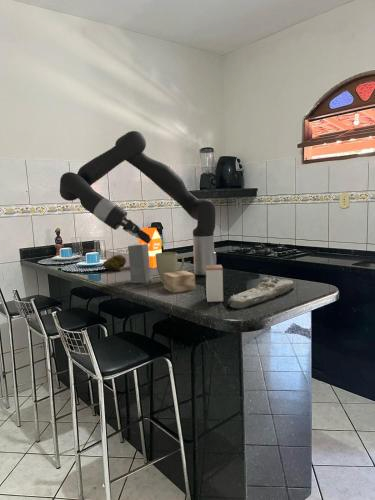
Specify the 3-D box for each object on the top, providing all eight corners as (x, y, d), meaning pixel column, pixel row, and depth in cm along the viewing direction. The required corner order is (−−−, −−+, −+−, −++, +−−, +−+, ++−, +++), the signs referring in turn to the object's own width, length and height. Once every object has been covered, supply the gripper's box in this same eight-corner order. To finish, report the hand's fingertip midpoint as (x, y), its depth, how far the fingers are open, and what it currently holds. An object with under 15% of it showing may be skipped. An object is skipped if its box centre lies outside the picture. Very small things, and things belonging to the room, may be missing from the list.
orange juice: (153, 268, 193) (151, 228, 190) (139, 266, 197) (137, 228, 195) (162, 265, 199) (160, 227, 197) (149, 264, 204) (147, 227, 201)
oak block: (185, 285, 151) (184, 270, 151) (195, 289, 143) (194, 274, 143) (164, 288, 148) (163, 273, 147) (173, 293, 140) (172, 277, 139)
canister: (206, 297, 131) (205, 265, 129) (222, 297, 131) (221, 264, 129) (207, 301, 125) (206, 268, 124) (223, 301, 125) (222, 267, 124)
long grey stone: (219, 310, 121) (246, 317, 114) (219, 294, 120) (246, 300, 113) (276, 284, 146) (300, 288, 139) (276, 270, 145) (301, 274, 138)
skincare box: (145, 283, 156) (143, 245, 154) (129, 283, 158) (126, 245, 156) (151, 279, 164) (149, 242, 162) (135, 279, 166) (133, 243, 164)
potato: (116, 267, 197) (115, 252, 196) (129, 270, 187) (128, 254, 186) (101, 270, 192) (100, 254, 191) (113, 273, 182) (112, 256, 181)
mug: (175, 285, 151) (174, 255, 149) (153, 284, 154) (151, 255, 153) (185, 279, 161) (184, 251, 160) (163, 278, 165) (162, 251, 163)
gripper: (113, 200, 125) (154, 228, 125) (118, 208, 139) (155, 233, 139) (100, 219, 124) (141, 247, 124) (106, 225, 138) (144, 250, 138)
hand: (149, 240), depth 132 cm, fingers open, 8 cm apart
